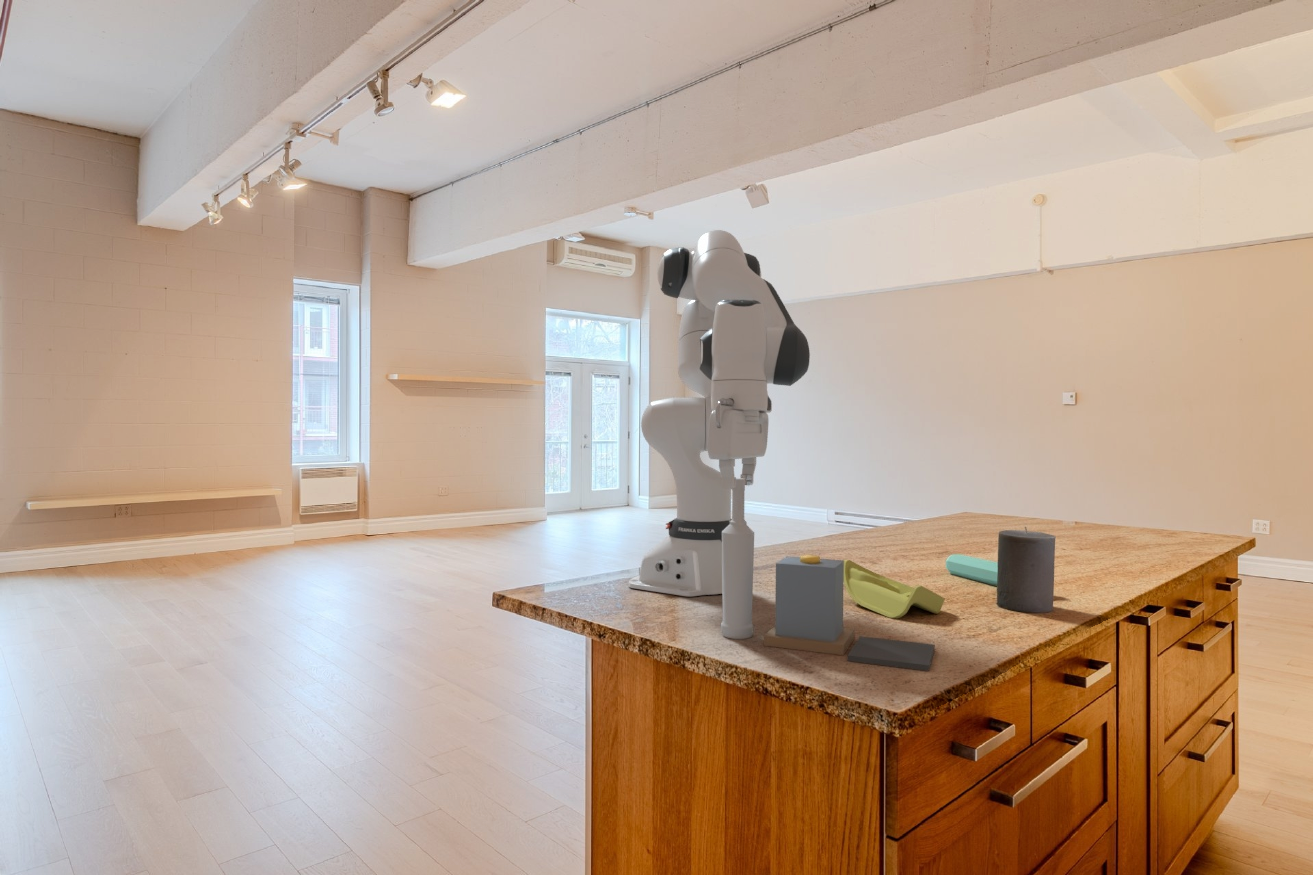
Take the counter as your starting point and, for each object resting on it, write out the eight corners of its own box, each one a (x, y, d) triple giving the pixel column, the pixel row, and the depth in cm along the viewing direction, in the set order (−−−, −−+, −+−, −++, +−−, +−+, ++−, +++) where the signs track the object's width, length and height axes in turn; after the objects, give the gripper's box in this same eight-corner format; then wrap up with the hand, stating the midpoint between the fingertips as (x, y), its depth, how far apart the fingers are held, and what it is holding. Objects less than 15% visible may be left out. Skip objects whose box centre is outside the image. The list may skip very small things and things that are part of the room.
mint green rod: (945, 547, 178) (1029, 564, 155) (964, 555, 180) (1051, 574, 156) (936, 571, 177) (1020, 592, 154) (956, 579, 179) (1042, 602, 156)
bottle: (735, 641, 121) (737, 480, 121) (714, 633, 125) (715, 478, 125) (760, 636, 124) (761, 479, 124) (738, 629, 128) (739, 477, 128)
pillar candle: (988, 607, 145) (990, 526, 144) (1005, 598, 152) (1008, 521, 152) (1045, 616, 138) (1047, 532, 138) (1060, 606, 146) (1062, 527, 145)
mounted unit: (763, 645, 119) (764, 558, 119) (780, 629, 128) (781, 548, 128) (843, 655, 114) (844, 564, 114) (854, 638, 123) (855, 554, 123)
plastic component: (950, 601, 140) (914, 581, 135) (934, 639, 139) (898, 621, 134) (874, 573, 157) (840, 555, 153) (859, 607, 156) (825, 590, 152)
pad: (847, 660, 111) (847, 655, 111) (859, 641, 121) (859, 636, 121) (928, 671, 107) (928, 665, 107) (934, 649, 117) (934, 644, 117)
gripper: (738, 396, 113) (737, 492, 113) (774, 402, 132) (774, 484, 132) (697, 397, 116) (696, 490, 116) (738, 402, 135) (738, 482, 135)
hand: (738, 487), depth 124 cm, fingers open, 8 cm apart
